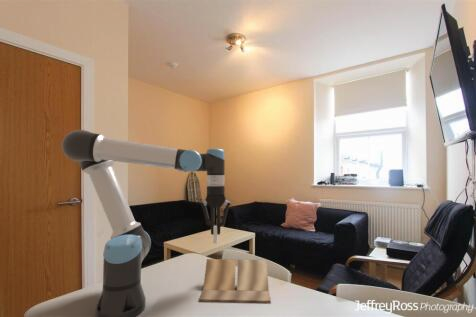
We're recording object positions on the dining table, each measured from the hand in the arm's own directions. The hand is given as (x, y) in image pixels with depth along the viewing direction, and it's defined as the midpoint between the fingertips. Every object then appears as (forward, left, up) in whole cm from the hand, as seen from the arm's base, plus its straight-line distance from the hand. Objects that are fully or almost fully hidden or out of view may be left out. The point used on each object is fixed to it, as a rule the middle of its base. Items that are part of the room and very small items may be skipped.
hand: (215, 242), depth 102 cm
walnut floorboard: (+9, -12, -17) cm, 22 cm away
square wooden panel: (+15, -2, -13) cm, 20 cm away
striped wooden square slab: (+2, -2, -13) cm, 13 cm away
